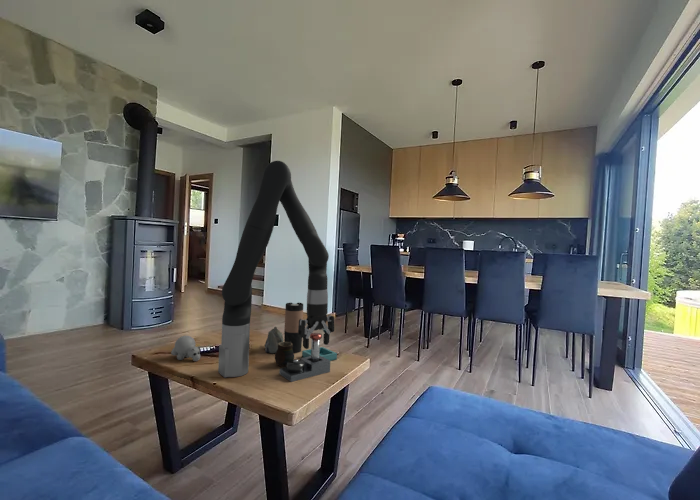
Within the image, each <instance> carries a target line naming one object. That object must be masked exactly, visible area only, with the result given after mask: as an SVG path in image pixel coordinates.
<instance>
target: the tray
mask: <svg viewBox="0 0 700 500" xmlns="http://www.w3.org/2000/svg"><path fill="white" fill-rule="evenodd" d="M319 355H320V356H322V357H324V358H326V359H328V360H330V362H331V361H336V360H337V359H338V353H337V352H335V351H333V350H331V349H329V348H327V347H324V346H320V350H319ZM309 356H311V348H310V349H305V350H301V358H304V357H309Z"/></svg>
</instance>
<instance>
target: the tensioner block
mask: <svg viewBox="0 0 700 500" xmlns="http://www.w3.org/2000/svg"><path fill="white" fill-rule="evenodd" d="M278 372H279V375H280V376H281V377H283V378H285V379H286V380H288V381H289V382H291V383H292V382H296V381H300V380H303V379H308V378H311V377H315V376H318V375H323V374H327V373H331V361H330V360H328V359H326V358H324V357H322V356H320V355H319V361H318V362H314V363H313V362H311V356H309V357H304V358H303V357H300V358H299V359H298V358H294V360H291V361H288V362H287V367H280V368H279V371H278Z"/></svg>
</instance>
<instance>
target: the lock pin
mask: <svg viewBox="0 0 700 500" xmlns="http://www.w3.org/2000/svg"><path fill="white" fill-rule="evenodd" d="M322 337H323V335H322V333H320V332H313V333H311V334H310V336H309V339H310V340H311V344H310V345H311V346H310V349H311V362H313V363H314V362H318V361H319V350H320V347H321V339H323V338H322Z"/></svg>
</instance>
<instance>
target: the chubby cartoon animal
mask: <svg viewBox="0 0 700 500" xmlns="http://www.w3.org/2000/svg"><path fill="white" fill-rule="evenodd" d="M196 345H197V344H196V341H195V338H193V337H192V336H190V335H183V336H180V337H179V338H177V339H176V341H175V342H174V347H173V348H171V349H172V350H171V353H170V354H171V355H172V356H176V359H177V360H178V361H183V360H184V359H185V358H188V359H189V358H191V359H192V361H194V362H198V361H199V360H200V359H201V354H200V353H201V351H200V348H201V346H200V345H199V346H196Z"/></svg>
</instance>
